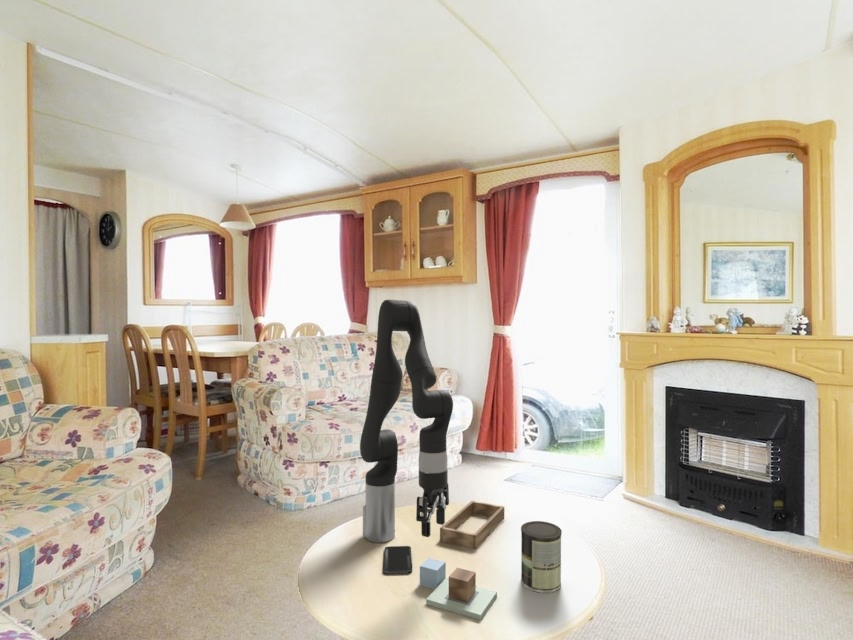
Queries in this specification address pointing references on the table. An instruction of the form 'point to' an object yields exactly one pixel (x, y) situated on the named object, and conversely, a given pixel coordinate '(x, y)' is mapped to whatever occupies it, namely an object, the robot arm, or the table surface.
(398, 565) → the phone
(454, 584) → the walnut block
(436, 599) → the plate
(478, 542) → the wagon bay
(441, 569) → the blue block
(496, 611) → the table surface
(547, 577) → the coffee can
